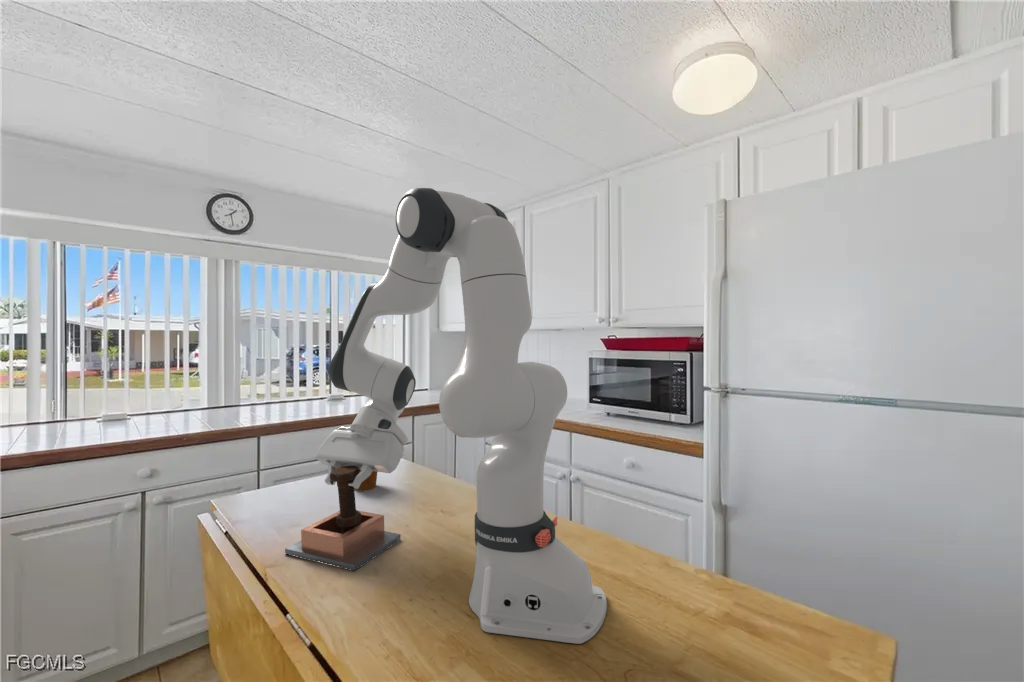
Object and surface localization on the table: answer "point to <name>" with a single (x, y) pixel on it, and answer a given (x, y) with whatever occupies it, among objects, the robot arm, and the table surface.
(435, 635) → the table surface
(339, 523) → the bolt
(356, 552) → the socket
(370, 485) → the disposable coffee cup
